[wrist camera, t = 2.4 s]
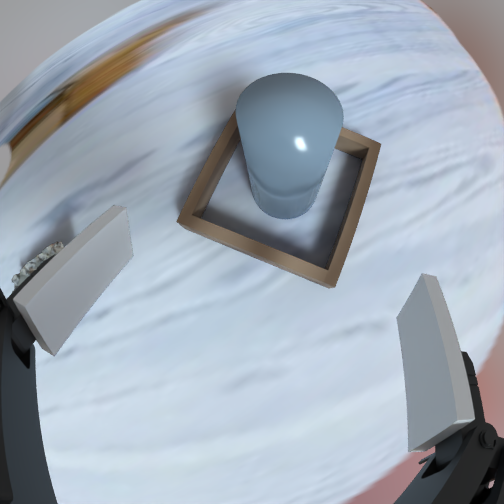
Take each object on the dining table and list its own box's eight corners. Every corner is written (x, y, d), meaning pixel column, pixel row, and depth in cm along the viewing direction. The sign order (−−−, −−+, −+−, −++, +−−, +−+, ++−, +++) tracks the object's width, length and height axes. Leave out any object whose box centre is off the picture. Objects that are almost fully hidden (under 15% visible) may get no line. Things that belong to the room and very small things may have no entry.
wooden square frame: (185, 228, 26) (176, 221, 24) (245, 110, 28) (243, 95, 26) (329, 288, 25) (335, 287, 22) (373, 155, 26) (381, 143, 24)
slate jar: (241, 204, 26) (217, 134, 15) (266, 151, 27) (260, 63, 15) (303, 229, 26) (325, 171, 14) (325, 172, 26) (354, 92, 15)
